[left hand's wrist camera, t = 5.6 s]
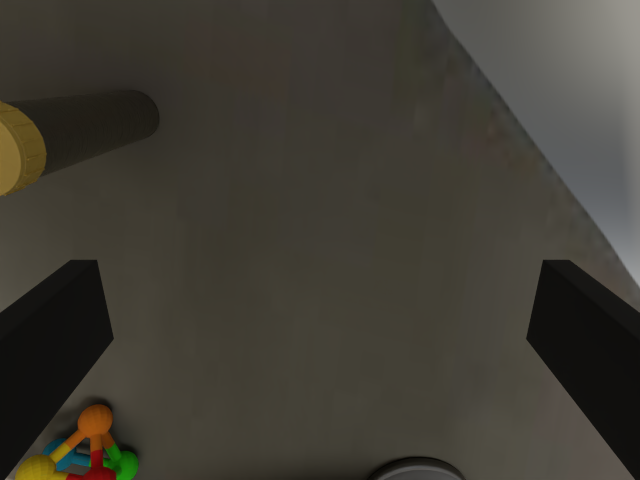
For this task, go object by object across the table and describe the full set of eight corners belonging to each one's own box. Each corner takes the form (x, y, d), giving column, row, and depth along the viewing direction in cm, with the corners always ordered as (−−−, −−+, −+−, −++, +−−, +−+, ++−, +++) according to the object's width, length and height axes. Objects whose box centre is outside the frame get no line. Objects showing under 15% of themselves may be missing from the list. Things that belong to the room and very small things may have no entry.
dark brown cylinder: (138, 80, 39) (-26, 88, 21) (168, 122, 40) (40, 164, 22) (102, 107, 40) (-86, 137, 21) (133, 147, 41) (-18, 207, 23)
